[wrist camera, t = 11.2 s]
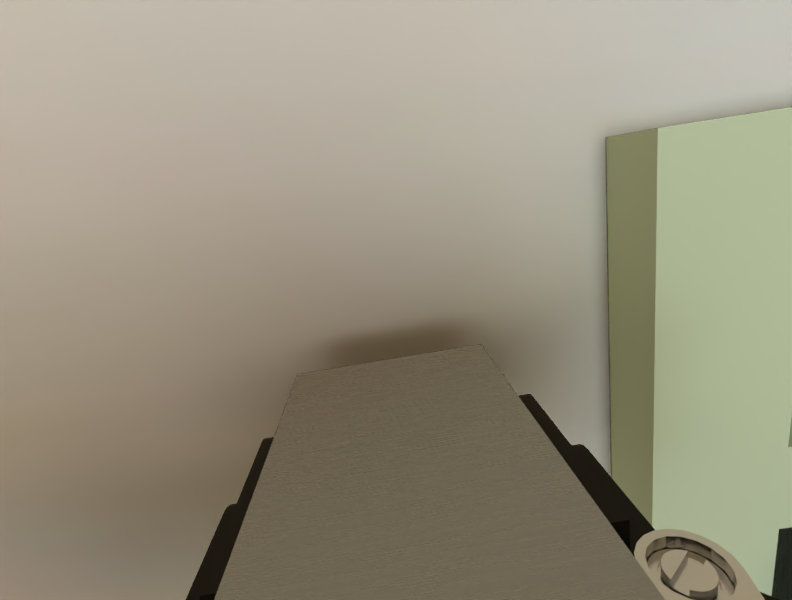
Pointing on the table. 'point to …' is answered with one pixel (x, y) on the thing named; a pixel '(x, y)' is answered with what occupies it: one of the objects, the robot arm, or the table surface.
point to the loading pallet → (704, 329)
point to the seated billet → (783, 566)
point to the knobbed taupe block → (422, 495)
